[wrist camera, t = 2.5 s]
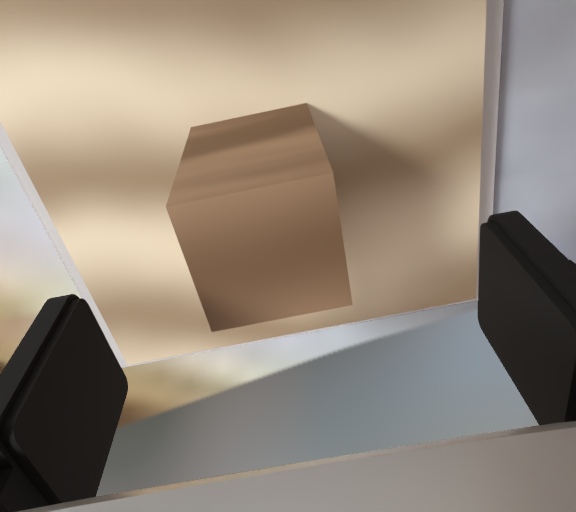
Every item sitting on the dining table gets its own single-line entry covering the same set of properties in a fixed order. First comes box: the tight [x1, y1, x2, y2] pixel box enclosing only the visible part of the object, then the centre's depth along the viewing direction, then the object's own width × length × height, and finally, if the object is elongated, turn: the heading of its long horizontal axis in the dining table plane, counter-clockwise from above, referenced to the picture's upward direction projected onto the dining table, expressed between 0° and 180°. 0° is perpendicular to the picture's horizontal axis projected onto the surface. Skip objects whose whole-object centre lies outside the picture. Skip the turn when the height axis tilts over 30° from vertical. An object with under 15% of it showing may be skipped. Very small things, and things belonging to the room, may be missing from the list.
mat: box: [0, 0, 504, 368], centre depth 18 cm, size 18×18×1 cm
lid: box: [0, 0, 487, 365], centre depth 15 cm, size 16×16×7 cm
